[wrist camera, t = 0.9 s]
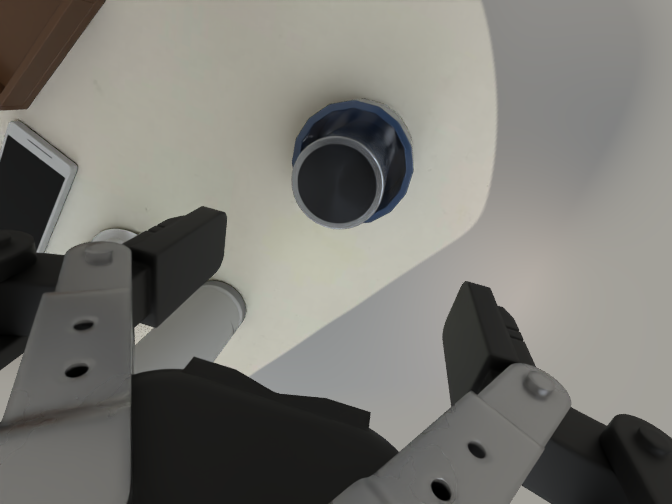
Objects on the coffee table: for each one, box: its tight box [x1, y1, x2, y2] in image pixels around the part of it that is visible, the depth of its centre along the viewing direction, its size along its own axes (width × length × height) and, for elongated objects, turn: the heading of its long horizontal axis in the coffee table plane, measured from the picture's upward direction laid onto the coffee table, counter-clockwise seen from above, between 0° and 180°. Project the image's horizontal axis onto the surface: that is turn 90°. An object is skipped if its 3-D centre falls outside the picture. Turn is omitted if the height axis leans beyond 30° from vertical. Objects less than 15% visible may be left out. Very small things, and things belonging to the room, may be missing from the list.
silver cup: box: [292, 121, 393, 229], centre depth 25 cm, size 5×5×11 cm
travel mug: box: [135, 281, 246, 374], centre depth 32 cm, size 6×7×20 cm
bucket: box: [292, 98, 413, 223], centre depth 28 cm, size 9×9×6 cm
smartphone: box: [0, 121, 77, 253], centre depth 39 cm, size 7×16×1 cm, turn 141°
